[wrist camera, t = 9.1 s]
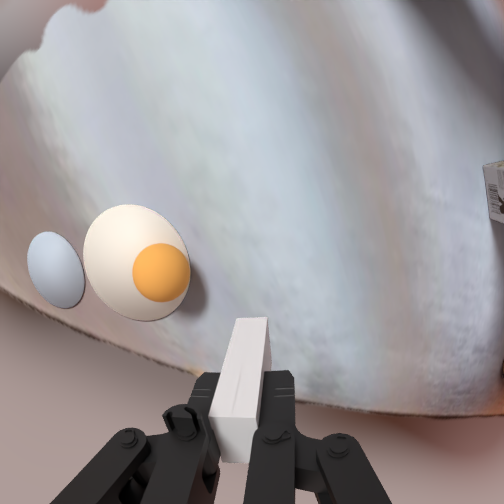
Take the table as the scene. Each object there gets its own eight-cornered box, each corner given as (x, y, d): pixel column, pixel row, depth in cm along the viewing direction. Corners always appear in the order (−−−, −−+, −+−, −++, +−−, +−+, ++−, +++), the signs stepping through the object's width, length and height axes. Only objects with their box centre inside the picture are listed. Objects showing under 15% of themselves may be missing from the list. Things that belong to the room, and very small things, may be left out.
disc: (179, 196, 29) (179, 196, 28) (200, 319, 32) (199, 320, 32) (74, 213, 30) (73, 213, 30) (100, 319, 34) (99, 319, 33)
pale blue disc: (73, 226, 30) (72, 227, 30) (93, 308, 33) (92, 308, 33) (21, 236, 32) (20, 236, 31) (40, 306, 34) (39, 307, 34)
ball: (123, 245, 28) (175, 235, 31) (133, 298, 29) (181, 286, 32) (134, 255, 24) (195, 242, 26) (145, 317, 25) (202, 301, 28)
